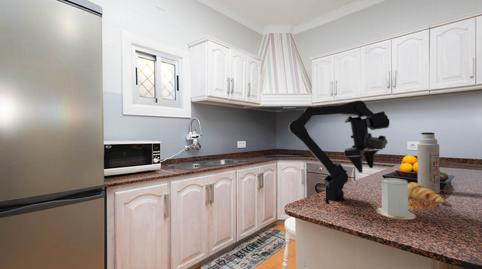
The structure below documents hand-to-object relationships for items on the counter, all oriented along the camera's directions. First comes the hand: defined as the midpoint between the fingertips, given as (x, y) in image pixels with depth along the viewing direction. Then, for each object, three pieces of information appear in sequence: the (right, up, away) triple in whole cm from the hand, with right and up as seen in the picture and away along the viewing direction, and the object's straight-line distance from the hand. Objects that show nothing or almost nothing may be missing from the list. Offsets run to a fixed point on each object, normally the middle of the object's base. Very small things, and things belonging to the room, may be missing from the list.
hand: (366, 170), depth 89 cm
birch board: (+1, -13, -15) cm, 20 cm away
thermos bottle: (+39, -13, +16) cm, 44 cm away
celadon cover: (+1, -12, -15) cm, 19 cm away
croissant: (+24, -13, +5) cm, 28 cm away
